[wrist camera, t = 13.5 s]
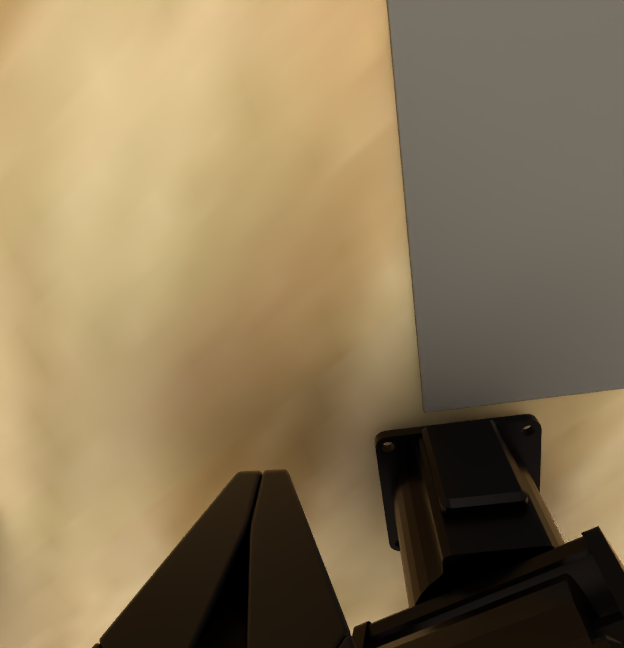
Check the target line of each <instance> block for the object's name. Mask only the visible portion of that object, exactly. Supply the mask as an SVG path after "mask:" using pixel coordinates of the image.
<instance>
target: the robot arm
mask: <svg viewBox="0 0 624 648" xmlns="http://www.w3.org/2000/svg"><path fill="white" fill-rule="evenodd" d="M528 425H531V426H530V427H529V428H528V429H523V428H524V427H525V426H528ZM541 433H542V429H541V425H540V423H539V422H538V420H537V418H536V417H535V416H533V415H531V414H522V415H514V416H505V417H497V418H489V419H480V420H472V421H464V422H455V423H447V424H438V425H430V426H422V427H413V428H405V429H397V430H388V431H383V432H381V433H379V434H378V435H377V436H376V438H375V448H376V455H377V462H378V469H379V476H380V482H381V489H382V496H383V503H384V510H385V517H386V524H387V531H388V538H389V544H390V547H391V548H392V549H394V550H396V551H401V558H402V564H403V571H404V577H405V584H406V591H407V597H408V604H409V608H407V609H405V610H402V611H400V612H398V613H395V614H393V615H390V616H388V617H385V618H383V619H381V620H378V621H376V622H373V623H371V622H369V621H368V622H365V623H363V624H360V625H358V626H356V627H354V630H353V635H352V636H351V635H350V630H349V627H348V625H347V622H346V620H345V617H344V614H343V612H342V609H341V607H340V604H339V602H338V599H337V596H336V594H335V591H334V589H333V586H332V584H331V581H330V578H329V576H328V573H327V571H326V568H325V566H324V563H323V560H322V558H321V555H320V553H319V550H318V548H317V545H316V542H315V540H314V537H313V535H312V532H311V530H310V527H309V524H308V522H307V519H306V517H305V514H304V512H303V509H302V506H301V504H300V501H299V499H298V496H297V494H296V491H295V488H294V486H293V483H292V481H291V478H290V475H289V473H288V471H287V470H284V469H282V470H266V471H264V472H263V474H262V472H260V471H243V472H238V473H237V474H236V475H235V476H234V477H233V478H232V480H231V481H230V482H229V483H228V484H227V486H226V487H225V488H224V489H223V490H222V492H221V493H220V494H219V495H218V496H217V498H216V499H215V500H214V501H213V502H212V504H211V505H210V506H209V507H208V509H207V510H206V511H205V512H204V513H203V515H202V516H201V517H200V518H199V519H198V521H197V522H196V523H195V524H194V525H193V527H192V528H191V529H190V530H189V531H188V533H187V534H186V535H185V536H184V537H183V539H182V540H181V541H180V542H179V544H178V545H177V546H176V547H175V548H174V550H173V551H172V552H171V553H170V554H169V556H168V557H167V558H166V559H165V560H164V562H163V563H162V564H161V565H160V566H159V568H158V569H157V570H156V571H155V573H154V574H153V575H152V576H151V577H150V579H149V580H148V581H147V582H146V583H145V585H144V586H143V587H142V588H141V589H140V591H139V592H138V593H137V594H136V595H135V597H134V598H133V599H132V600H131V602H130V603H129V604H128V605H127V606H126V608H125V609H124V610H123V611H122V612H121V614H120V615H119V616H118V617H117V618H116V620H115V621H114V622H113V623H112V624H111V626H110V627H109V628H108V629H107V631H106V632H105V633H104V634H103V635H102V637H101V638H100V644H99V643H96V644H95V645H94V646H93V647H92V648H624V566H623V564H622V563H621V561H620V560H619V558H618V556H617V555H616V553H615V552H614V550H613V549H612V547H611V545H610V544H609V542H608V541H607V539H606V537H605V536H604V534H603V533H602V531H601V530H600V528H599V526H597V527H595V528H593V529H590V530H588V531H585V532H583V533H582V535H583V536H582V537H580V538H577V539H575V540H573V541H570V542H568V543H564V541H563V539H562V537H561V535H560V533H559V531H558V529H557V527H556V525H555V523H554V521H553V519H552V517H551V515H550V513H549V511H548V509H547V507H546V505H545V503H544V501H543V499H542V497H541V495H540V465H541ZM386 442H391V443H392V444H391V445H388V446H387V445H383V444H384V443H386Z"/></svg>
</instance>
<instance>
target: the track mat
mask: <svg viewBox="0 0 624 648" xmlns="http://www.w3.org/2000/svg"><path fill="white" fill-rule="evenodd" d="M387 9H388V20H389V31H390V42H391V53H392V64H393V75H394V86H395V98H396V109H397V120H398V131H399V142H400V153H401V164H402V175H403V186H404V197H405V209H406V220H407V231H408V242H409V253H410V264H411V275H412V286H413V297H414V308H415V319H416V331H417V342H418V353H419V364H420V375H421V386H422V397H423V408H424V412H425V413H427V412H435V411H443V410H451V409H459V408H468V407H476V406H484V405H492V404H500V403H509V402H517V401H525V400H533V399H541V398H550V397H558V396H566V395H574V394H583V393H591V392H599V391H607V390H615V389H624V0H387Z"/></svg>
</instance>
